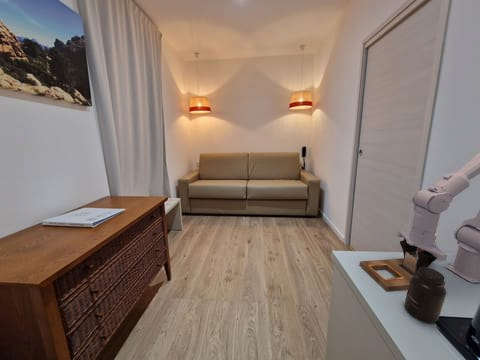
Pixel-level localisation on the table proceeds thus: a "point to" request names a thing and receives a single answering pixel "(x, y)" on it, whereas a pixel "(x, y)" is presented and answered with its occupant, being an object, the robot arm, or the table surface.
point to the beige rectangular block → (411, 262)
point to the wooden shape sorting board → (394, 268)
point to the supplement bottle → (426, 295)
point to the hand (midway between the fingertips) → (414, 267)
